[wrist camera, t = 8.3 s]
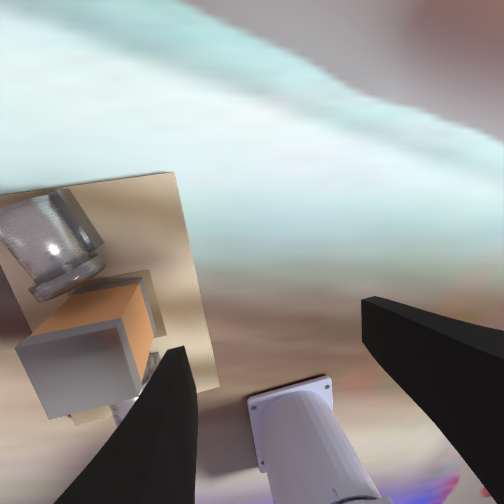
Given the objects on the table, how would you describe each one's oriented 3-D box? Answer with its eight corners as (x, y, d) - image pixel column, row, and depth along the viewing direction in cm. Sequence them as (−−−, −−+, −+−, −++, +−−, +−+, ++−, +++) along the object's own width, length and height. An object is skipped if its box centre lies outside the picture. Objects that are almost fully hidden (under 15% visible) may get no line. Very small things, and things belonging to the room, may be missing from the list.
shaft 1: (119, 253, 17) (92, 280, 13) (68, 276, 17) (22, 312, 13) (76, 187, 16) (29, 192, 11) (20, 211, 16) (-52, 226, 11)
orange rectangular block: (156, 329, 19) (139, 396, 13) (95, 342, 18) (49, 419, 12) (142, 277, 17) (116, 326, 12) (76, 289, 17) (14, 347, 11)
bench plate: (218, 379, 22) (219, 387, 21) (80, 416, 20) (75, 426, 19) (174, 172, 17) (173, 172, 16) (-19, 198, 15) (-32, 199, 14)
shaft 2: (171, 381, 21) (165, 437, 17) (125, 393, 20) (105, 454, 16) (157, 332, 20) (146, 379, 15) (107, 344, 19) (80, 396, 15)
